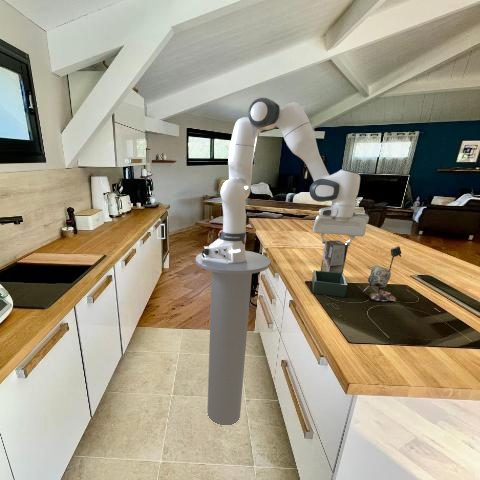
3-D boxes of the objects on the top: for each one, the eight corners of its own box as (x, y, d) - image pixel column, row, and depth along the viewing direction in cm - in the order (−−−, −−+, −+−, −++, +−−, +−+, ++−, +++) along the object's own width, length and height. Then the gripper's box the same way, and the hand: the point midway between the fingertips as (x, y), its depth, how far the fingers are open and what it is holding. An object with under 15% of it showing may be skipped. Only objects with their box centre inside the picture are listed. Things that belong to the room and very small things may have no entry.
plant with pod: (362, 291, 124) (374, 242, 117) (396, 297, 119) (409, 246, 112) (361, 298, 118) (373, 247, 110) (396, 305, 113) (411, 251, 105)
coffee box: (341, 281, 135) (349, 245, 129) (327, 281, 135) (333, 245, 129) (333, 274, 143) (339, 240, 137) (319, 274, 143) (324, 240, 137)
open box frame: (312, 293, 123) (314, 281, 121) (311, 281, 135) (313, 270, 134) (344, 297, 119) (347, 285, 117) (340, 284, 132) (343, 273, 130)
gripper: (368, 212, 128) (360, 245, 133) (315, 209, 134) (310, 240, 139) (371, 214, 123) (363, 248, 128) (316, 211, 128) (310, 243, 134)
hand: (335, 244), depth 134 cm, fingers open, 8 cm apart
